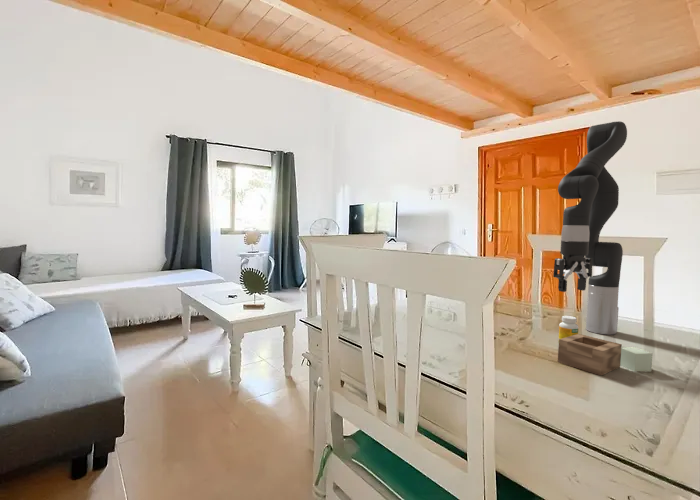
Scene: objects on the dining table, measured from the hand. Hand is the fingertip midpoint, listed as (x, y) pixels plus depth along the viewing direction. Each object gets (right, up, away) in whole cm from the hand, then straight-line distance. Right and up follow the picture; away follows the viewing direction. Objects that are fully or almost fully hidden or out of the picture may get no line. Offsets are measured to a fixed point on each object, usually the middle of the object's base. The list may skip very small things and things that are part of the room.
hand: (571, 290), depth 115 cm
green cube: (+8, -20, -16) cm, 26 cm away
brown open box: (-4, -19, -14) cm, 24 cm away
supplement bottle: (0, -18, +2) cm, 18 cm away
